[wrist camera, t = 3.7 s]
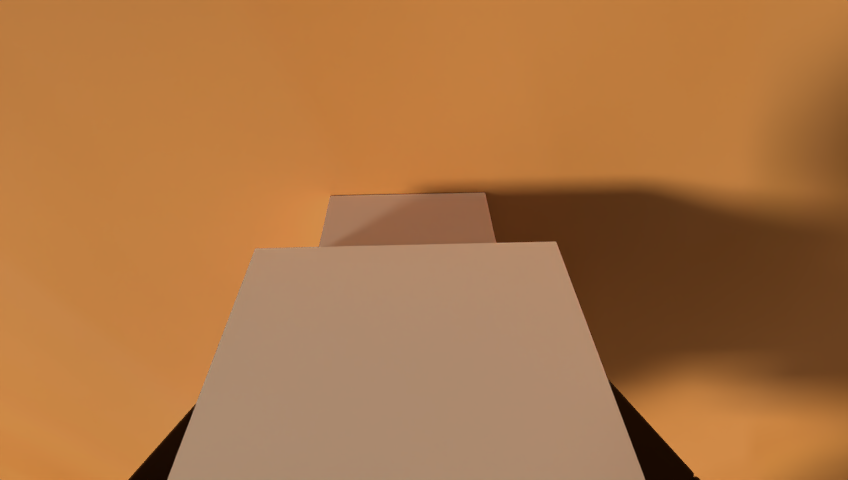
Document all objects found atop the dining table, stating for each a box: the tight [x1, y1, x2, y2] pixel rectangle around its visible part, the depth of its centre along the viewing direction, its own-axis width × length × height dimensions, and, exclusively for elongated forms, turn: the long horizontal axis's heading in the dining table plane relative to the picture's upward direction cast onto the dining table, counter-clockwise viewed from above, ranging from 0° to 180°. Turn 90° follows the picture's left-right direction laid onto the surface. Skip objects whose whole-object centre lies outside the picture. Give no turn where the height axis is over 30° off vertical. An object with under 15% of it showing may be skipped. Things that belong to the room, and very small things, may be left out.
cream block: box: [167, 192, 645, 480], centre depth 9 cm, size 5×5×8 cm
